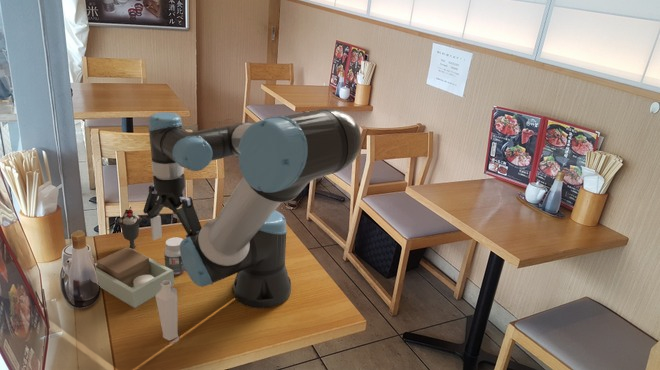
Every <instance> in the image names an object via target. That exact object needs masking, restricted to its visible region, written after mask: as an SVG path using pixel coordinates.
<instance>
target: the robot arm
mask: <svg viewBox="0 0 660 370" xmlns="http://www.w3.org/2000/svg"><path fill="white" fill-rule="evenodd" d="M148 134H149V135H148V136H149V144H150V145H149V146H150V154H151V169H152V170H151V171H152V174H153V176H152V178H153V184H152V185H150V186H148V195H147V197H146V201H145V204H144V207H143V210H142V211H143V214H146V215H147V217H148V218H149V226H150V228H151V238H152V241H156V240H159V239H160V238H162V237H163V231H162V229H163V227H162V218H161V215H160V214H161V211H162V210H163V208H168V209H169V210H171V211H172V212H173V214H175V215H176V217H177V218H178V219H179V221H180V224H181V225H182V227H183V229H184V231H185V233H186V235H185V238H184V239H183V240H182V241H181V243H180V254H181V258H182V262H183V264H184V267H185V269H186V273H187V275H188V277H189V279H190V280H191V282H192V283H193V284H195V285H196V286H197V287H199V288H200V287H202V288H203V287H206V286H210V285H213V284H214V283H218V282H220V281H221V280H224V279H226V278H228V277H231V276H233V275H235V274H236V276H235V278H234V280H233V293H234V296H235V297H234V298H235V300H236V301H237V302H238V303H240V304H241V305H243V306H246V307H249V308H252V309H254V308H255V309H268V308H274V307H277V306H280V305H281V304H283V303H285V302H286V301H287V300H288V299H289V298H290V295H291V293H292V282H291V278H290V277H289V274H288V269H287V266H286V251H287V250H286V247H287V246H286V245H287V233H288V229H287V220H286V218H285V216H284V215H283V213H281V212H279V211H278V210H277V208H278V207H279V206H280V205H281V204H282V203H289V202H291V201H293V200H294V199H296V198H297V197H298V196H299V195H300V194H301V193H302V191H303V190H304V189H305V188H306V186H307V185H308V184H310V182H312V181H314V180H317V179H320V178H323V177H326V176H329V175H332V174H333V175H334V174H336V173H339V172H342V171H343V170H346V168H349V166H351V165H352V164H353V163H354V162H355V161H356V159H357V157H358V156H359V154H360V151H361V148H362V147H361V146H362V133H361V130H360V127H359V125H358V123H357V121H356V120H355V119H354V118H353V117H352V116H351V115H350V114H348V113H347V112H345V111H342V110H340V109H336V108H322V109H315V110H312V111H306V112H299V113H294V114H289V115H282V116H281V115H275V116H274V115H273V116H269V117H267V118H264V119H261V120H259V121H255V122H254V123H250V122H239V123H236V124H230V125H225V126H219V127H214V128H207V129H201V130H196V131H195V130H194V131H187V130H186V129H183V123H182V118H181V115H179V114H178V113H175V112H166V111H165V112H164V111H163V112H162V111H161V112H156V113H154V114H151V115H150V116H149V118H148ZM235 156H237V157H238V159H237V160H238V161H237V162H238V166H239V169H240V172H241V176H242V178H241V179H240V180H239V182H238V184H237V185H236V187H235V188H234V190H233V191H232V193H231V195H230V196H229V197H228V199H227V201H226V202H225V204H224V206H223V207H222V208H221V211H220V212H219V214H218V215H217V217H216V218H213V219H210V220H208V221H207V222H206V223H204V225H201V222H200V219H199V217H198V215H197V212H196V210H195V207H194V202H193V201H194V199H193V198H192V196H189V197H185V196H184V194H183V191H184V189H185V188H186V177H185V174H184V173H185V169H187V170H189V171H191V172H200V171H202V170H204V169H205V168H206V167H207V166H209V165H210V163H211V162H212V161H216V160H217V161H218V160H221V159H224V158H230V157H235Z"/></svg>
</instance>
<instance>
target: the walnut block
mask: <svg viewBox="0 0 660 370" xmlns="http://www.w3.org/2000/svg"><path fill="white" fill-rule="evenodd" d="M134 250H135V249H133V250H132V249H130V248H129V247H128V246H126V247H124V248H121V249H119V250H118V251H115V252H113V253H111V254H109V255H107V256H104V257H102V258H100V259H97V260H96V262H95V263H97V268H98V269H100V270H101V271H103V272H105V273H107V274H108V275H110V276H112V277H113V278H115V279H117V280H119V281H120V282H122V283H124V284H126V285H127V286H129V287H131V288H132V287H134V283H133V281H134V279H135V278H137V277H138V276H141V275H151V274H150V264H149V258H150V257H148V256H146V255H144V254H143V253H141V254H140V252H139V253H138V251H137V250H135V251H134ZM136 251H137V252H136ZM142 254H143V255H142Z"/></svg>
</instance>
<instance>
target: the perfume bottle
mask: <svg viewBox="0 0 660 370" xmlns="http://www.w3.org/2000/svg"><path fill="white" fill-rule="evenodd" d="M161 286H162V289H161V290H160V291H159V292H158V293H157V295H156V296H155V301H156V306H157V311H158V315H159V321H160V326H161V330H162V338H164V339H165V340H166V341H170V342H169V343H168V345H169V344H170V345H172V344H174V343H176V342H178V341H180V336H179V333H178V332H179V331H178V329H179V328H178V319H179V318H178V315H179V314H178V313H179V312H178V308H179V307H178V306H179V305H178V299H179V298H178V291H177V288H175V287H171V281H163V282H162V283H161Z"/></svg>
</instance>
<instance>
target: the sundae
mask: <svg viewBox="0 0 660 370" xmlns="http://www.w3.org/2000/svg"><path fill="white" fill-rule="evenodd" d="M142 220H143V219H142V217H141V216H140V215H139V214H136V212H135V211H134V210H133V209H132V206H130V207H129V209H125V210H124V213H123V215H122V216H120V217H118V218H117V220H116V224H117V225H119V227H120V230H121V233H122V235H123V238H124V239H125V240H127V241H129V247H128V248H131V249H133V250H135V249H136V248H137V245H136V244H135V240H136V239H137V238H138V237H139V235H140V234H139V233H140V223H141V222H142Z"/></svg>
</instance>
